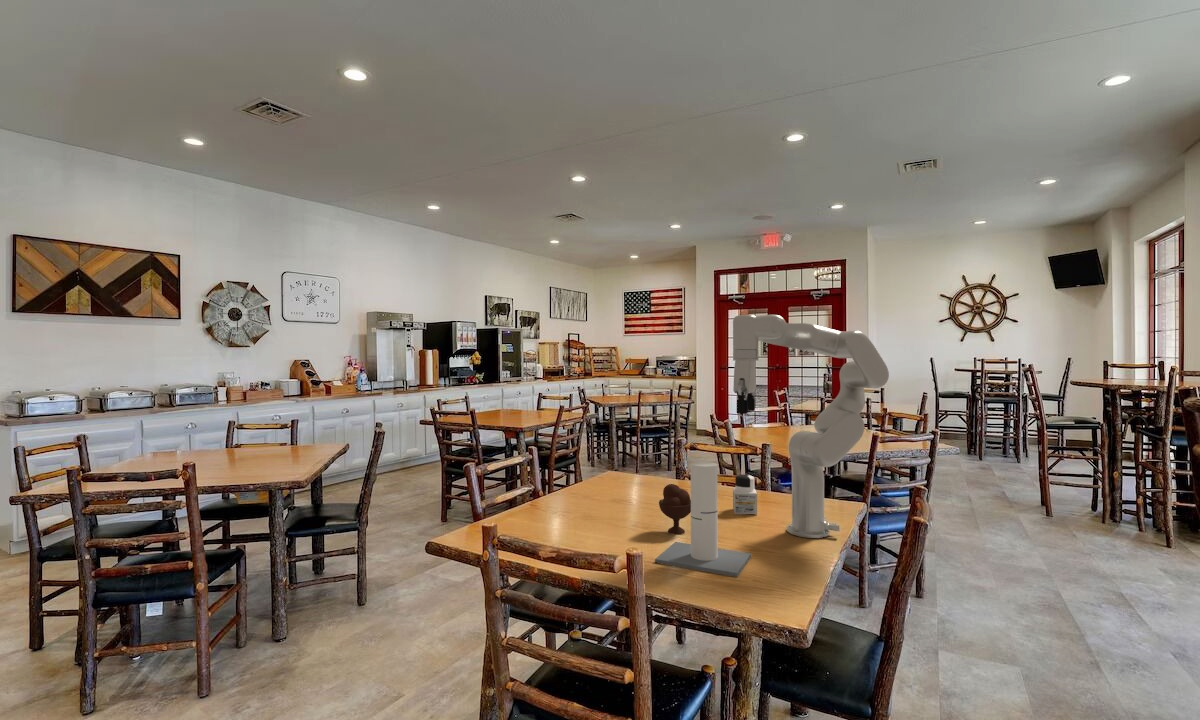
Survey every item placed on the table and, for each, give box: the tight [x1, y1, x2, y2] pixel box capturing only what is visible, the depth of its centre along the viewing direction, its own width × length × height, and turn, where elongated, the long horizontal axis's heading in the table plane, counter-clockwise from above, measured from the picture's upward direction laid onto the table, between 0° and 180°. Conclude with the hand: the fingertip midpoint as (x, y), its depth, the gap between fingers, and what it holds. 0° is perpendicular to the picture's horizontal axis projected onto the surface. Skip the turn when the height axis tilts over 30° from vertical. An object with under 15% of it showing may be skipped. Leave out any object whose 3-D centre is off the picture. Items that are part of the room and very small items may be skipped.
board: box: [654, 541, 752, 578], centre depth 153 cm, size 22×16×1 cm
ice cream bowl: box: [658, 483, 691, 536], centre depth 177 cm, size 11×11×15 cm
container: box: [732, 474, 758, 515], centre depth 200 cm, size 8×8×13 cm
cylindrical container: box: [690, 461, 719, 561], centre depth 153 cm, size 7×7×25 cm
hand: (745, 412), depth 171 cm, fingers open, 9 cm apart
